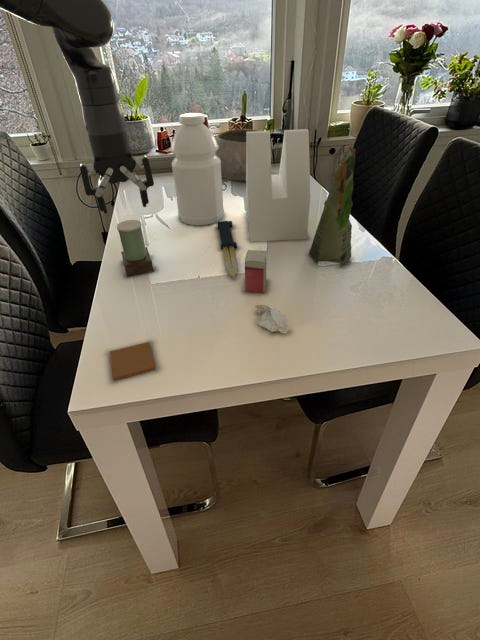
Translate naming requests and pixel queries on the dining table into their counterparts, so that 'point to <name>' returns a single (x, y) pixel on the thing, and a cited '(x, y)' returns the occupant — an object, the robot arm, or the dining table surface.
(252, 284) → the small box
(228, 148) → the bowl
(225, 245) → the knife
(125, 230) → the tumbler
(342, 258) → the pouch
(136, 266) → the walnut wood block
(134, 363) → the coaster
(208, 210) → the bottle
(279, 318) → the tissue
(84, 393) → the dining table surface
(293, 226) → the white slotted block
